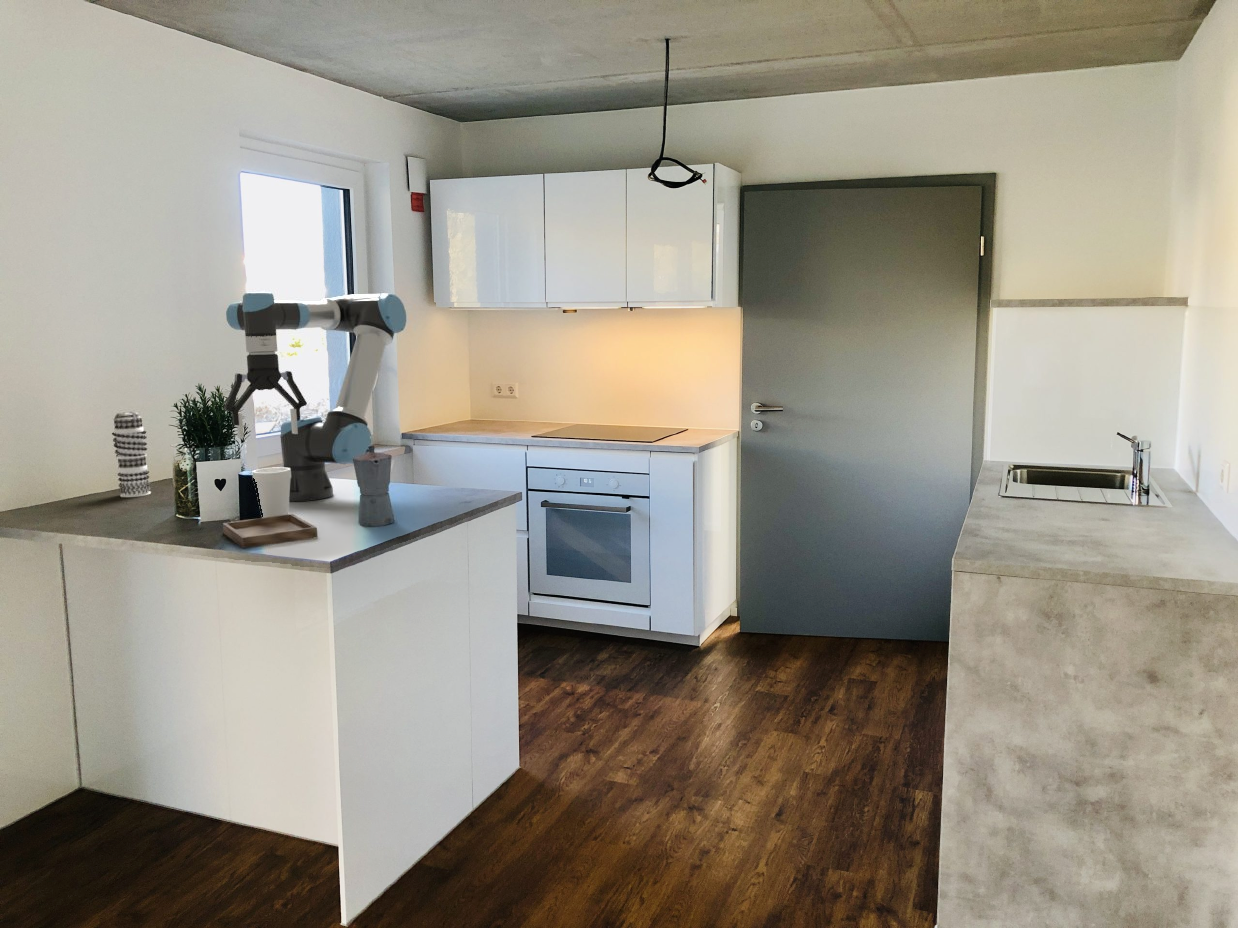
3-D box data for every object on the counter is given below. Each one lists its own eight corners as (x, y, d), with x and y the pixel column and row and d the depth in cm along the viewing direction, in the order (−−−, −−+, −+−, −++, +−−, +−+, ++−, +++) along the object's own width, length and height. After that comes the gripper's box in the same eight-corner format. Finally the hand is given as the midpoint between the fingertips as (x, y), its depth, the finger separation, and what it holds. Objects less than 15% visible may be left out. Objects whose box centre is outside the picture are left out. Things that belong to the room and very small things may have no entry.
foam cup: (281, 523, 246) (277, 473, 244) (249, 522, 248) (245, 472, 246) (300, 515, 255) (297, 467, 253) (269, 514, 257) (265, 466, 255)
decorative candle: (148, 496, 288) (140, 413, 284) (114, 498, 286) (106, 415, 282) (155, 491, 297) (147, 410, 293) (123, 492, 295) (114, 412, 291)
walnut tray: (293, 523, 246) (292, 513, 245) (317, 537, 229) (316, 527, 229) (223, 533, 236) (222, 523, 236) (243, 548, 220) (242, 537, 219)
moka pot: (363, 530, 236) (358, 450, 232) (349, 519, 249) (344, 443, 246) (401, 526, 240) (397, 447, 237) (386, 515, 253) (381, 440, 250)
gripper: (213, 355, 235) (220, 441, 238) (315, 352, 249) (320, 433, 252) (207, 355, 241) (214, 438, 244) (306, 351, 255) (312, 430, 258)
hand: (268, 435), depth 248 cm, fingers open, 13 cm apart
